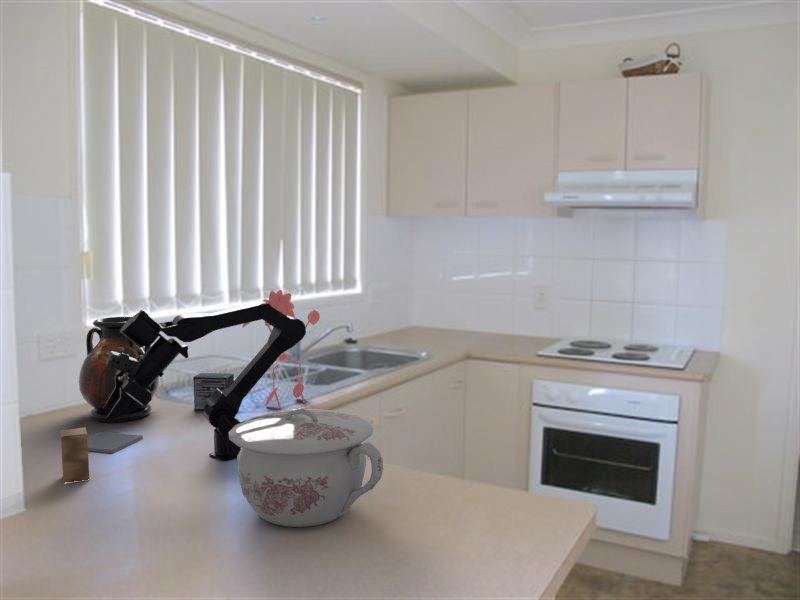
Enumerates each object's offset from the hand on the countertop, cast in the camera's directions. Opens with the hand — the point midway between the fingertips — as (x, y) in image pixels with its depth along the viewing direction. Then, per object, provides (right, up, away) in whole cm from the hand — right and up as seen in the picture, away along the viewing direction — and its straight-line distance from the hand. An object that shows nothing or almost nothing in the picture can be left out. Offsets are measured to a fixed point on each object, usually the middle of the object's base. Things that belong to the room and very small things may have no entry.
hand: (106, 414), depth 156 cm
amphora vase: (-15, -8, +48) cm, 51 cm away
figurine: (+28, -6, +63) cm, 69 cm away
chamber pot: (+46, -16, -20) cm, 53 cm away
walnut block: (-6, -14, -2) cm, 15 cm away
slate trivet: (-9, -11, +22) cm, 26 cm away
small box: (+10, -7, +55) cm, 56 cm away
